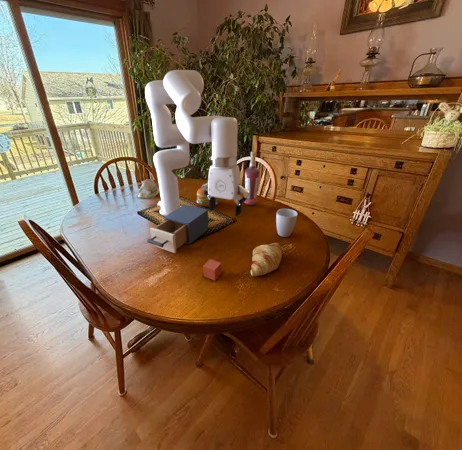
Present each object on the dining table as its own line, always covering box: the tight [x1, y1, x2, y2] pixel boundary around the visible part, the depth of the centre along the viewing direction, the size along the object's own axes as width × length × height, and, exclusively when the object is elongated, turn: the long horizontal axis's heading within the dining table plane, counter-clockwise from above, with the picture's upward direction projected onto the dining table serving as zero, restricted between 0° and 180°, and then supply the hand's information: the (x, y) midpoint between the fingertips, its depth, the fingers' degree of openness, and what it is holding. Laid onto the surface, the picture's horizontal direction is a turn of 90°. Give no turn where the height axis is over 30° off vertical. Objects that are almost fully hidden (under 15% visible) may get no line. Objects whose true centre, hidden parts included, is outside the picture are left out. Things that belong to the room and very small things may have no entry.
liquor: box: [243, 151, 260, 207], centre depth 123 cm, size 7×7×28 cm
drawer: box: [146, 219, 188, 254], centre depth 94 cm, size 18×11×8 cm, turn 147°
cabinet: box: [163, 204, 210, 245], centre depth 103 cm, size 15×13×10 cm
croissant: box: [250, 241, 283, 277], centre depth 83 cm, size 21×10×8 cm, turn 143°
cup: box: [275, 208, 298, 238], centre depth 99 cm, size 8×8×10 cm
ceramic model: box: [137, 178, 160, 199], centre depth 147 cm, size 14×11×10 cm
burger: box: [196, 186, 221, 208], centre depth 131 cm, size 13×14×10 cm
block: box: [202, 258, 222, 282], centre depth 79 cm, size 4×4×4 cm
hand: (224, 212), depth 81 cm, fingers open, 9 cm apart
